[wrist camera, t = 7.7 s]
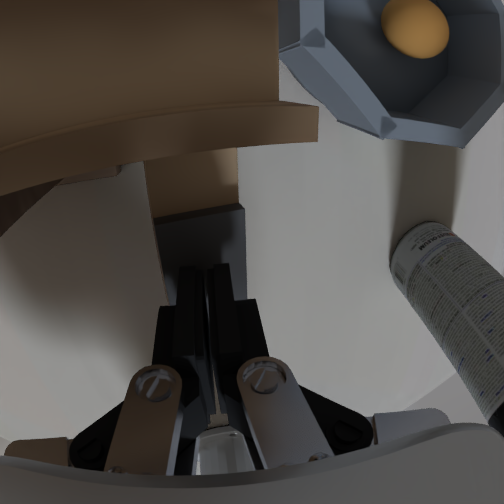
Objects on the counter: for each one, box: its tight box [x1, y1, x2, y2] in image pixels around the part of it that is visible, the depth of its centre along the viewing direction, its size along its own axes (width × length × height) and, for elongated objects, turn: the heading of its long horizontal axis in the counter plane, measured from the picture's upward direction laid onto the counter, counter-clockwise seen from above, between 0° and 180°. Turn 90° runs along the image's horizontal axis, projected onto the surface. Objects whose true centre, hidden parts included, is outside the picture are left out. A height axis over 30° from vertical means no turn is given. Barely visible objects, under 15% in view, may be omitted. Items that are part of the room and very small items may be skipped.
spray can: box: [390, 221, 504, 437], centre depth 15 cm, size 7×7×20 cm
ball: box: [381, 0, 449, 59], centre depth 12 cm, size 4×4×4 cm
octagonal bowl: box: [278, 0, 504, 149], centre depth 12 cm, size 13×13×6 cm
